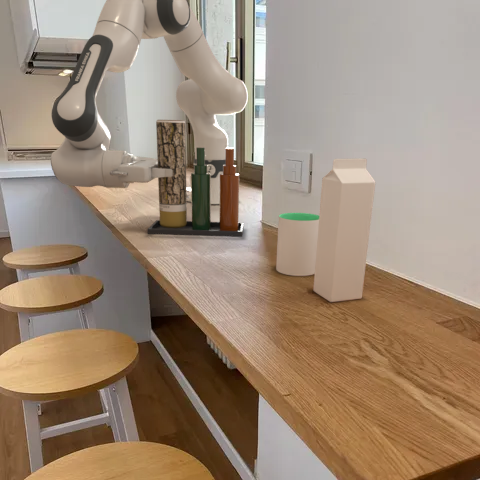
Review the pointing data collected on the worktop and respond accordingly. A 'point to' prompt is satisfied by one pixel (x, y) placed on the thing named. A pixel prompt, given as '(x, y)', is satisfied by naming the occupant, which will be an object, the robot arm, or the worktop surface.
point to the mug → (297, 243)
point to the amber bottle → (229, 195)
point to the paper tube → (173, 157)
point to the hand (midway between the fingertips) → (175, 171)
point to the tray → (187, 230)
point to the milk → (343, 230)
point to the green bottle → (201, 193)
